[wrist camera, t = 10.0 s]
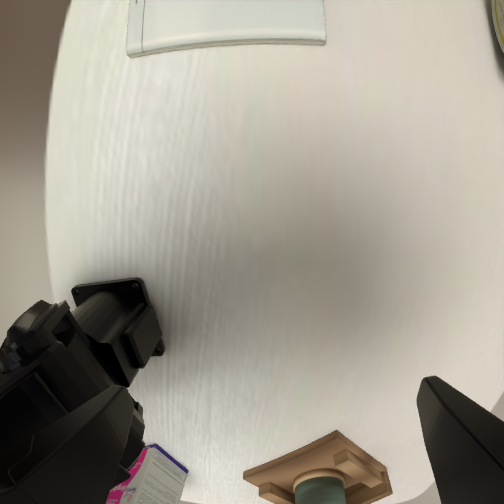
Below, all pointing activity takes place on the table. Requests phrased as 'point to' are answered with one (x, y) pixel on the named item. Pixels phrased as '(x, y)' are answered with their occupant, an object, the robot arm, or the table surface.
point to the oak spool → (320, 487)
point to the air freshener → (498, 20)
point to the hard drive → (221, 24)
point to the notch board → (323, 456)
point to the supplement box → (151, 480)
